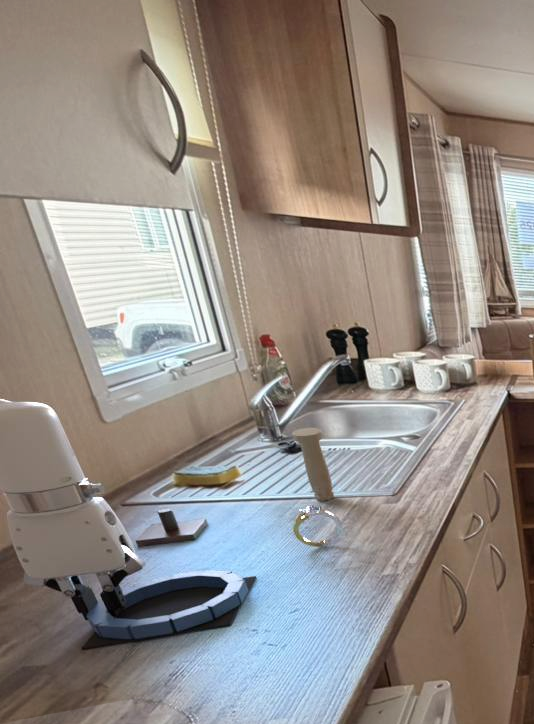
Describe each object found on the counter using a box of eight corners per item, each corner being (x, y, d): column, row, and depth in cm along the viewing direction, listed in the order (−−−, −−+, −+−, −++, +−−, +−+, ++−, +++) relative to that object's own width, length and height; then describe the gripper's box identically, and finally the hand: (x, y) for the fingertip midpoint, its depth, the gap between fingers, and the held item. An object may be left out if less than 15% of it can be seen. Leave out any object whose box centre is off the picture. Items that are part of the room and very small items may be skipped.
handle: (310, 505, 135) (291, 436, 129) (312, 495, 140) (293, 429, 133) (338, 502, 137) (320, 434, 131) (339, 492, 142) (321, 426, 136)
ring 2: (298, 553, 115) (286, 512, 112) (301, 546, 118) (289, 506, 114) (345, 546, 118) (334, 507, 115) (346, 540, 121) (335, 501, 118)
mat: (82, 650, 87) (81, 647, 87) (128, 595, 100) (127, 593, 100) (231, 625, 94) (230, 623, 94) (256, 578, 107) (255, 575, 106)
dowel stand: (137, 546, 114) (126, 521, 112) (153, 529, 121) (143, 505, 119) (195, 540, 118) (185, 515, 116) (208, 523, 124) (199, 500, 122)
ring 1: (70, 649, 86) (64, 637, 85) (122, 592, 100) (116, 581, 99) (230, 623, 93) (226, 611, 92) (258, 573, 107) (254, 563, 106)
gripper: (140, 481, 92) (185, 591, 99) (-19, 494, 85) (43, 612, 93) (118, 498, 86) (168, 615, 93) (-54, 514, 79) (15, 638, 87)
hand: (105, 612), depth 93 cm, fingers closed on ring 1, 2 cm apart
